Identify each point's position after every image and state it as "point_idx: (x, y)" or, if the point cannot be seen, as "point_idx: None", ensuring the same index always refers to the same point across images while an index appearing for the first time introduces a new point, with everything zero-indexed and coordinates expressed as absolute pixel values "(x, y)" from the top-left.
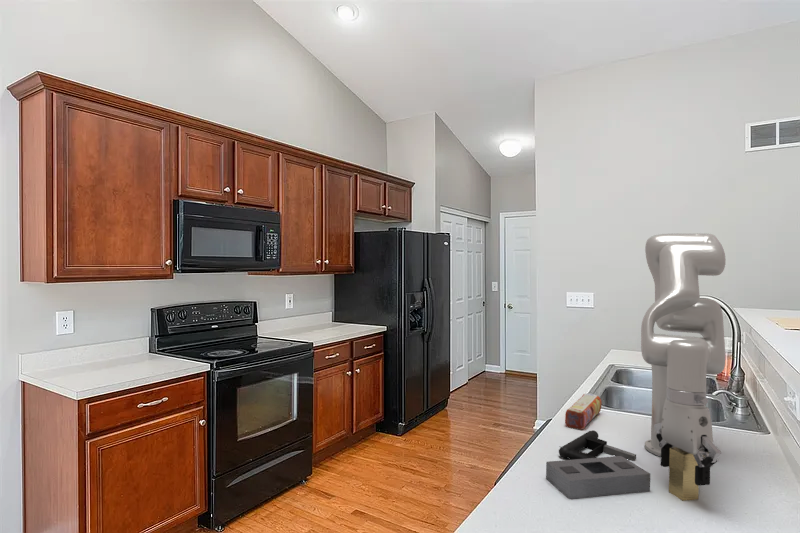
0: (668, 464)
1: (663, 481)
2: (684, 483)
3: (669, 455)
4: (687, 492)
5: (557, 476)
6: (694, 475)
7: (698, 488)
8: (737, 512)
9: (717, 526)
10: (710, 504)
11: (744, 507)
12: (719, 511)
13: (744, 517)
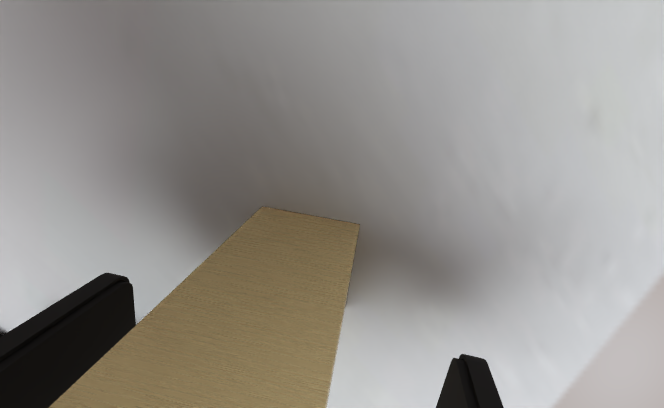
0: (124, 333)
1: (153, 212)
2: (333, 369)
3: (56, 391)
4: (344, 309)
5: None
6: (337, 344)
7: (353, 251)
8: (559, 161)
9: (575, 378)
10: (425, 217)
11: (550, 47)
12: (497, 244)
13: (615, 180)
